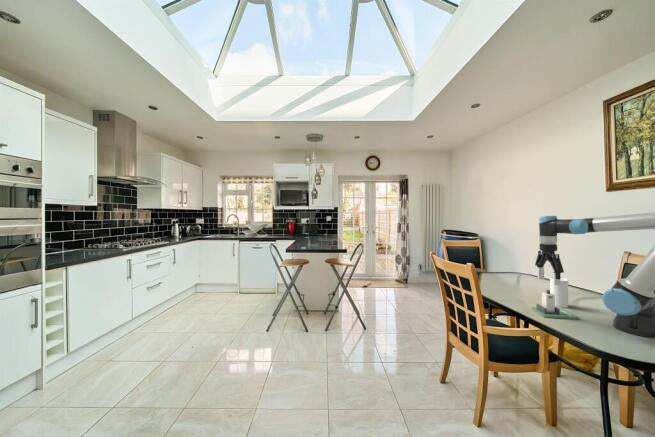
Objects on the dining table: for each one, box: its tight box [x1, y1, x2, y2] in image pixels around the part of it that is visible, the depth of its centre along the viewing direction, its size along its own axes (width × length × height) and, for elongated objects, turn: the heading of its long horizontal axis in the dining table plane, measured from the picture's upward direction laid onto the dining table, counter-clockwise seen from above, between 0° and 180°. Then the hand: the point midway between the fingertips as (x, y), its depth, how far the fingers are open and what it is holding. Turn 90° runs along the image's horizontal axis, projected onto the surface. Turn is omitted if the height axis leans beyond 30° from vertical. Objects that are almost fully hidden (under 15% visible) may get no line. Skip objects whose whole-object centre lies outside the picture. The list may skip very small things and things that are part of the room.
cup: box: [549, 276, 569, 309], centre depth 157 cm, size 8×8×16 cm
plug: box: [541, 289, 556, 312], centre depth 144 cm, size 4×4×12 cm
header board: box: [531, 303, 580, 320], centre depth 144 cm, size 12×16×4 cm
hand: (548, 281), depth 144 cm, fingers open, 13 cm apart
